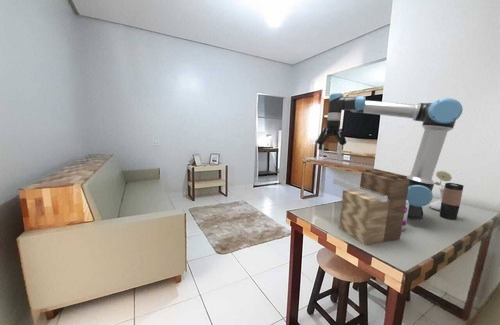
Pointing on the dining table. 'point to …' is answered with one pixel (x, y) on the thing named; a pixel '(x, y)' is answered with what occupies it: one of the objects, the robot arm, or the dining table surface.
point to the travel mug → (451, 201)
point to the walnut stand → (375, 208)
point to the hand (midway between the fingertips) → (330, 155)
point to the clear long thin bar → (361, 190)
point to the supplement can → (405, 215)
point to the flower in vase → (443, 177)
